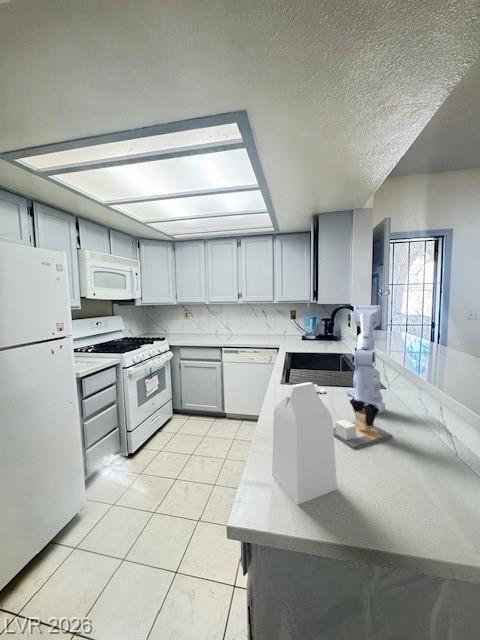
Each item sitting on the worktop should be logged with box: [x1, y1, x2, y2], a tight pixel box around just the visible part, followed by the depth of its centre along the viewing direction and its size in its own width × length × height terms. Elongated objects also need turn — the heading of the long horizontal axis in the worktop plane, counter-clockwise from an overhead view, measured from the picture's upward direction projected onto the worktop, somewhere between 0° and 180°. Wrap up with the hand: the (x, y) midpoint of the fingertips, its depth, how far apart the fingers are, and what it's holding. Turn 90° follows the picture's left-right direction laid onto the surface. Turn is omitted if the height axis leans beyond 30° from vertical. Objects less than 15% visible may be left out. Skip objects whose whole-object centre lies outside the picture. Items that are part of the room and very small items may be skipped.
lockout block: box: [354, 410, 374, 431], centre depth 93 cm, size 4×4×5 cm
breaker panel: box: [333, 422, 393, 450], centre depth 92 cm, size 17×12×1 cm
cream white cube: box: [335, 419, 356, 440], centre depth 90 cm, size 4×5×4 cm
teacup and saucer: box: [313, 383, 326, 394], centre depth 135 cm, size 9×8×4 cm
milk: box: [271, 381, 338, 506], centre depth 69 cm, size 12×12×26 cm
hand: (364, 422), depth 93 cm, fingers closed on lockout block, 4 cm apart
